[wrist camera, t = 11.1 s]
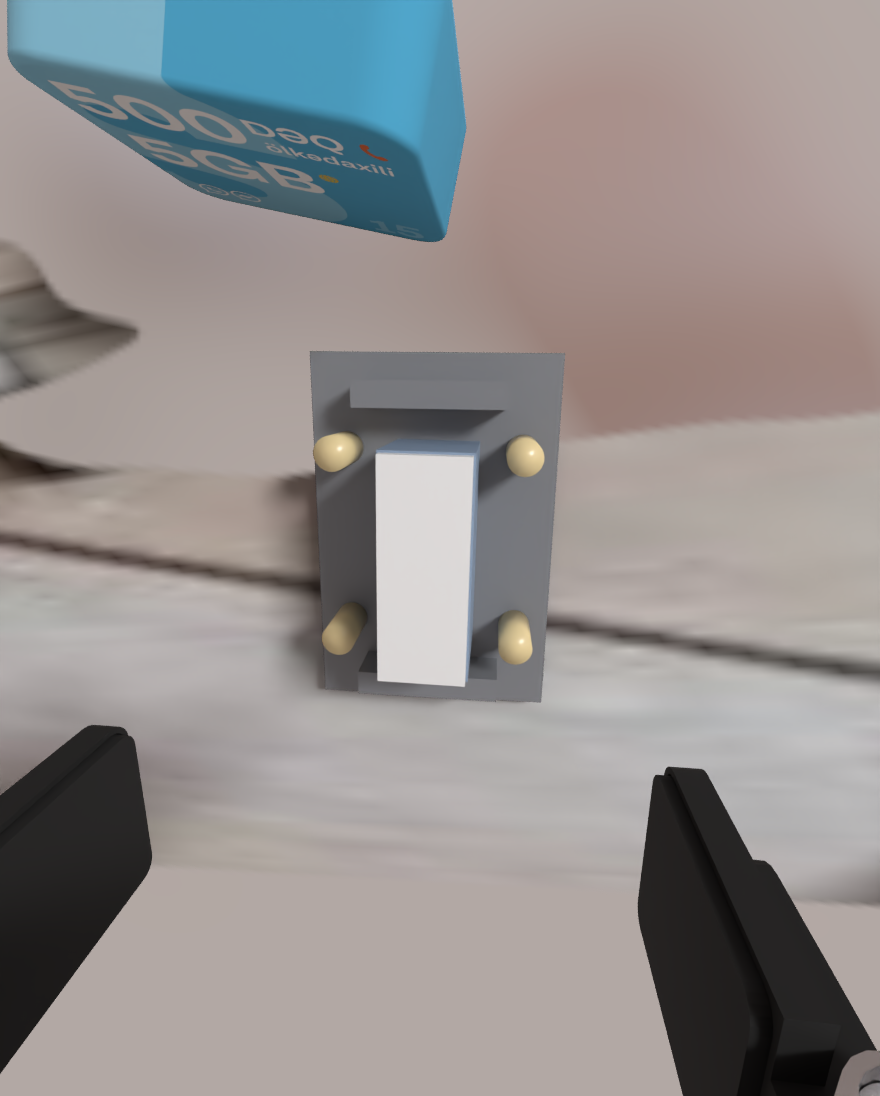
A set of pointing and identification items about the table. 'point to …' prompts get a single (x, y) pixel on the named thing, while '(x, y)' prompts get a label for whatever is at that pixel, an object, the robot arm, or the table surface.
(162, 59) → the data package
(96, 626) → the table surface
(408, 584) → the block
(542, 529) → the tray
